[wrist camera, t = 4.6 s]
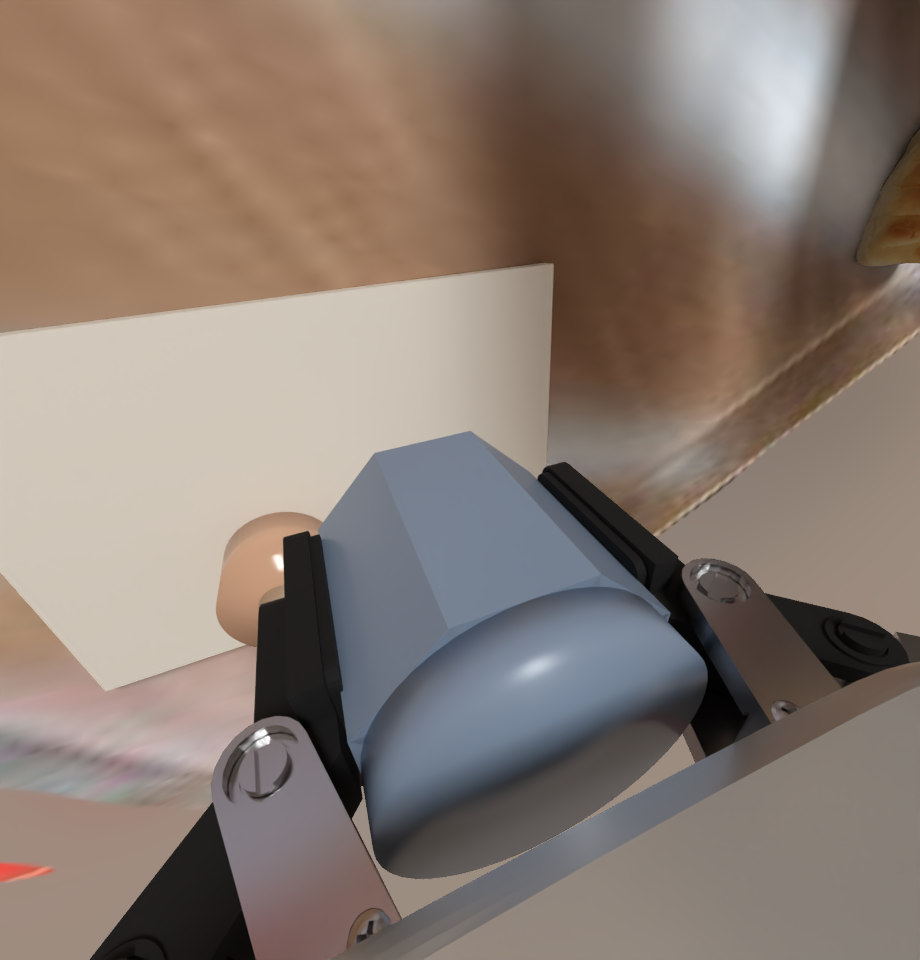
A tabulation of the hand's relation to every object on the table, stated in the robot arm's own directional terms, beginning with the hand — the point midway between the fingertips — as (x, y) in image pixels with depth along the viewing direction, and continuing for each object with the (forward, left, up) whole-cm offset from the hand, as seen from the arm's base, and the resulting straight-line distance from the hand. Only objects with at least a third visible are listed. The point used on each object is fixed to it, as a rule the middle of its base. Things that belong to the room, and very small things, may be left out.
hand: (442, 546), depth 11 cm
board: (+3, +6, -15) cm, 16 cm away
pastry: (-42, -5, -16) cm, 45 cm away
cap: (0, 0, -1) cm, 1 cm away
